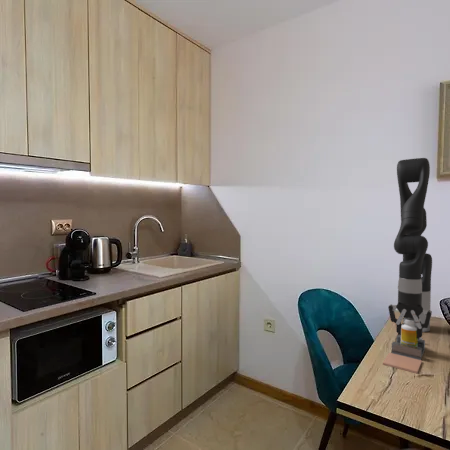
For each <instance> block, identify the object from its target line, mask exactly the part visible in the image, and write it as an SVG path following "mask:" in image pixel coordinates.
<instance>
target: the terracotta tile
mask: <svg viewBox="0 0 450 450" xmlns="http://www.w3.org/2000/svg"><path fill="white" fill-rule="evenodd" d="M422 363H423V360H422V359H421V360H418V359H414V358H410V357H405V356H401V355H397V354H393V353H392V352H388V354H387V355H386V357H385V358H384V360H383V361H382V366H388V367H391V368H395V369H399V370H402V371H407V372H410V373H415V374H418V373H419V370H420V367H421V366H422Z"/></svg>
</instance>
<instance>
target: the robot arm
mask: <svg viewBox="0 0 450 450" xmlns="http://www.w3.org/2000/svg"><path fill="white" fill-rule="evenodd" d="M430 166H431V165H430V162H429V159H428V158H426V157H420V158H419V157H418V158H417V157H416V158H407V159H400V160H398V162H397V164H396V176H397V177H396V178H397V185H398V191H399V193H398V194H399V201H400V226H399V230H398V233H397V235H396V237H395V240H394V243H393V249H394V251H395V252H396V253H397V254H398V255H402V261H400V263H399V265H398V267H399V270H398V282H397V283H398V284H397V304H389V305H388V313H389V317H390V322H392V323H395V324H396V333H397V335H401V325H402V324H403V323H402V322H403V318H411V319H414V320H415V322H416V324H415V325H416V326H417V327H418V328H417V338H418V339H420V337H421V338H423V332H424V333H426V332H429V331H431V318H432V313H433V312H432V310H431V302H432V301H431V298H432V297H431V296H432V295H431V293H432V290H431V289H432V270H433V258H432V254H430V253H427V251H428V247H429V242H428V239H427V238H426V236H424V235H423V233H425V231H426V229H427V223H428V222H427V210H426V209H425V202H426V197H427V193H428V192H427V191H428V187H429V180H430V172H431V171H430V170H431V167H430ZM409 183H418V184H417V186H416V189H415V190H414V191H413V193H412V190H411V189H410V186H409ZM396 309H397V311H398V312H399V313H400V314H399V316H398V317H397V318H396V314H395V311H396Z"/></svg>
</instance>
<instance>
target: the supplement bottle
mask: <svg viewBox="0 0 450 450" xmlns="http://www.w3.org/2000/svg"><path fill="white" fill-rule="evenodd" d="M401 324H402V325H401V343H402V344H407V345H412V346H416V347H417V346H418V338H417V328H418V327H417V326H416V325H415V324H416V322H415V320H414V319H411V318H404V317H403V319H402V323H401Z"/></svg>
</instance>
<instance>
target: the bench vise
mask: <svg viewBox="0 0 450 450" xmlns="http://www.w3.org/2000/svg"><path fill="white" fill-rule="evenodd" d="M423 338H424V337H420V339H418V346H417V347H416V346H412V345H407V344H402V343H401V335H398V334H397V335H396V340H395V341H392V343H391V353H393V354H397V355H401V356H405V357H410V358H414V359H418V360H422V358H423V355H424V352H425V350H426V340H425V339H423Z"/></svg>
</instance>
